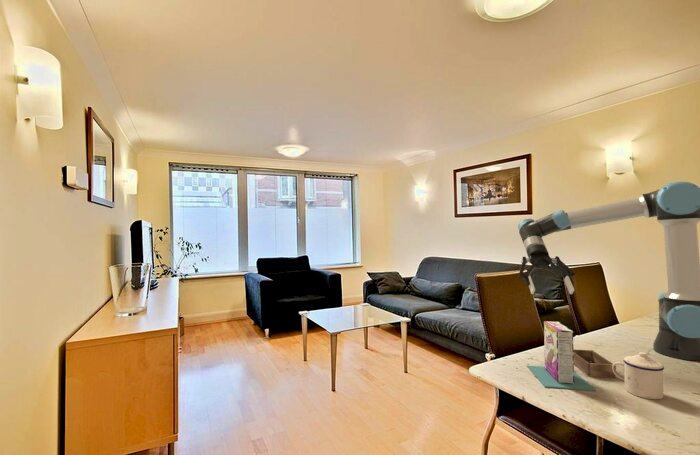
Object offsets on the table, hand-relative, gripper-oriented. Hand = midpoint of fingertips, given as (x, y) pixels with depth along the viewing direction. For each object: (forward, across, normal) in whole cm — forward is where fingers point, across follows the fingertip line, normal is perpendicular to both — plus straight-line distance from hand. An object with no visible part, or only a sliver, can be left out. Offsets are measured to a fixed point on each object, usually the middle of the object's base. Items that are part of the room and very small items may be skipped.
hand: (552, 292), depth 128 cm
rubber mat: (+30, +6, -4) cm, 31 cm away
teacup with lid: (+35, -12, +1) cm, 37 cm away
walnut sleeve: (+24, -8, -11) cm, 27 cm away
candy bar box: (+30, +7, -4) cm, 31 cm away
